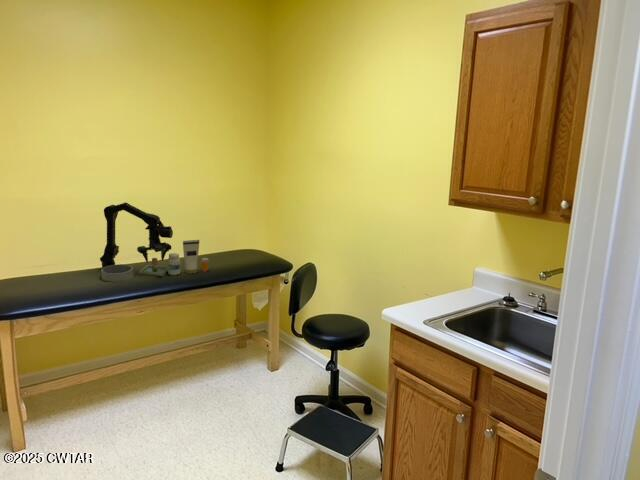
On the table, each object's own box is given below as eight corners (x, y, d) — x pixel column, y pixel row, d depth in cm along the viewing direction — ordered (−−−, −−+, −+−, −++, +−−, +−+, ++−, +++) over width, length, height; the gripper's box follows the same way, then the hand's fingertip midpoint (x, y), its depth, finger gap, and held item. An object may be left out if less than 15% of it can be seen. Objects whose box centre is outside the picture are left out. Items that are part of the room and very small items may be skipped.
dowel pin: (151, 271, 271) (151, 259, 269) (153, 270, 274) (153, 257, 272) (156, 272, 271) (155, 259, 269) (158, 270, 274) (158, 258, 272)
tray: (139, 274, 267) (139, 270, 267) (148, 268, 279) (147, 264, 278) (162, 276, 267) (162, 273, 266) (170, 270, 278) (170, 266, 277)
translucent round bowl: (95, 281, 252) (95, 272, 251) (111, 272, 268) (110, 263, 267) (124, 284, 251) (124, 274, 250) (138, 274, 268) (137, 265, 266)
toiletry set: (169, 276, 269) (168, 243, 263) (166, 272, 275) (165, 240, 270) (210, 272, 281) (210, 240, 276) (206, 268, 287) (207, 237, 282)
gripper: (143, 241, 255) (144, 267, 259) (175, 238, 267) (175, 263, 271) (136, 237, 263) (137, 262, 267) (167, 233, 275) (167, 258, 279)
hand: (154, 261), depth 271 cm, fingers open, 9 cm apart
